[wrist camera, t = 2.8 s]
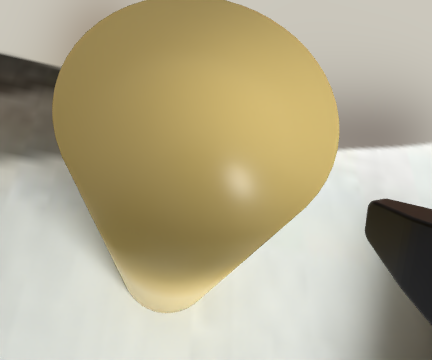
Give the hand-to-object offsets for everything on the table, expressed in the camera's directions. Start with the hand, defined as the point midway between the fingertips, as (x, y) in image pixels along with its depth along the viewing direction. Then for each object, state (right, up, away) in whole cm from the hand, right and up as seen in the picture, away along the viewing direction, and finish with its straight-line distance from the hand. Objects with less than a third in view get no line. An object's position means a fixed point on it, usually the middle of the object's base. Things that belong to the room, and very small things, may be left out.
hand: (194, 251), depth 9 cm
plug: (-2, -2, +9) cm, 9 cm away
